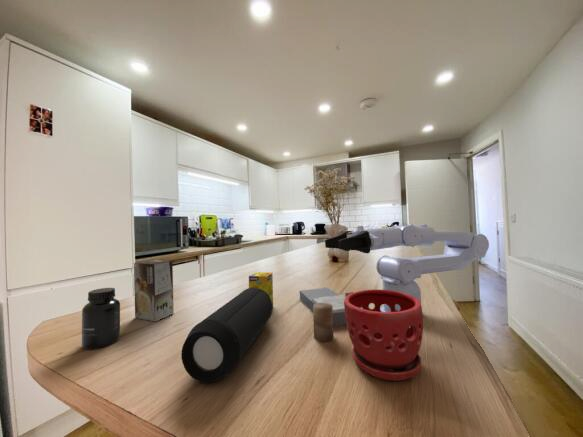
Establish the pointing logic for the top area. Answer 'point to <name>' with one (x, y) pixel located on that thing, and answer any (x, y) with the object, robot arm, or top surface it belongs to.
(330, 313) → the walnut peg
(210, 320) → the portable speaker
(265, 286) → the supplement box
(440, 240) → the robot arm
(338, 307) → the sliding lid
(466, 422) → the top surface
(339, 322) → the socket plate
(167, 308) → the coffee box
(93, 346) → the supplement bottle
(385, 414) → the top surface
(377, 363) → the plant pot
